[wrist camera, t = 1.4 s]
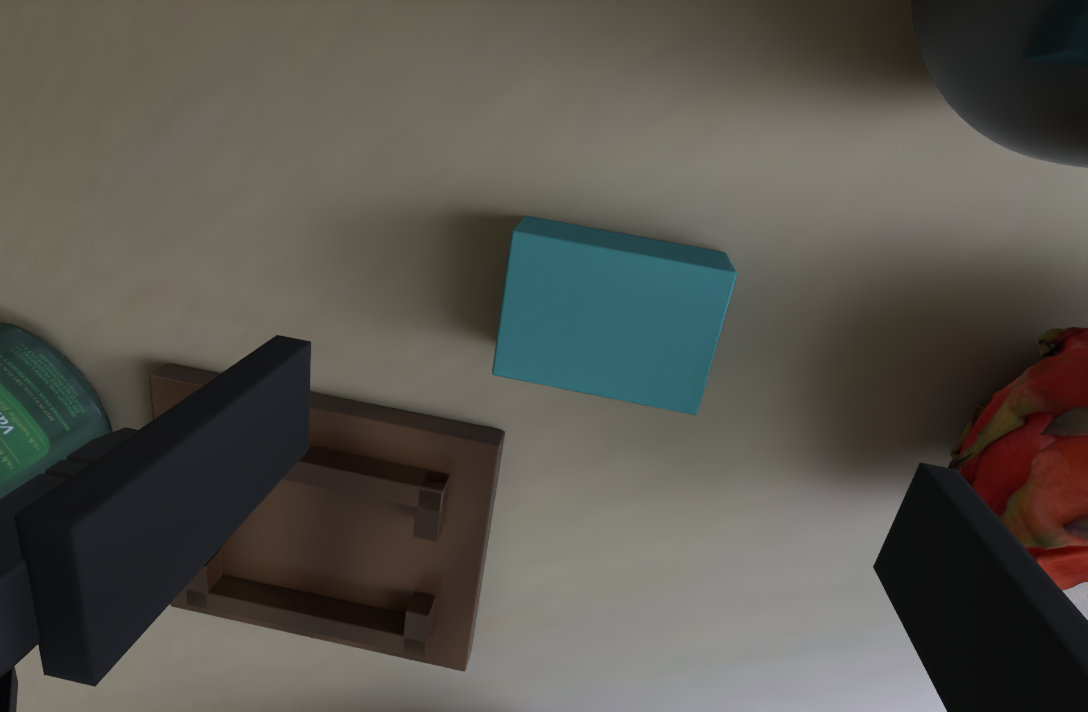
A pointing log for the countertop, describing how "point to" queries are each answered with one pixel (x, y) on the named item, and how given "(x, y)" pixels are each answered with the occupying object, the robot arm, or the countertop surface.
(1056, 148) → the black rounded piece
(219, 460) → the robot arm
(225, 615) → the back plate
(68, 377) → the coffee jar
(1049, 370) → the dragon fruit
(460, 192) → the countertop surface
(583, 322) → the pad
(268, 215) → the countertop surface
